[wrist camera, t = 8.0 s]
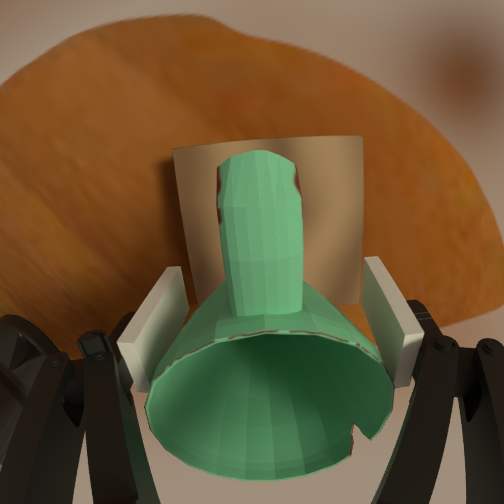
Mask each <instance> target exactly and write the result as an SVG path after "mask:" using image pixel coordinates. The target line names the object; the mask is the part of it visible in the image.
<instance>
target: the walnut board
mask: <svg viewBox="0 0 504 504" xmlns="http://www.w3.org/2000/svg"><path fill="white" fill-rule="evenodd" d="M253 150H267V151H270V152H272V153H275V154H278V155H280V156H282V157H284V158H286V159H288V160H289V161H291V162H293V163H294V164H295V165H296V167H297V172H298V178H299V184H300V190H301V196H302V213H303V248H304V250H303V281H304V282H306V283H307V284H308V285H310V286H311V287H313V288H314V289H315V290H317V291H318V292H319V293H320V294H321V295H323V296H324V297H325V298H326V299H328V300H329V301H330V302H331V303H332V304H333V305H334V306H338V305H352V304H359V294H360V281H361V266H362V246H363V214H364V167H363V136H305V137H285V138H269V139H255V140H243V141H233V142H223V143H214V144H205V145H197V146H189V147H182V148H175V149H172V151H173V159H174V166H175V174H176V181H177V188H178V195H179V201H180V208H181V214H182V221H183V227H184V233H185V239H186V245H187V251H188V256H189V262H190V267H191V273H192V278H193V284H194V289H195V294H196V299H197V304H198V308H199V307H200V306H201V305H202V304H203V303H204V302H205V300H206V299H207V298H208V297H209V296H210V295H211V294H212V293H213V292H214V291H215V290H216V289H217V288H218V287H219V286H220V285H221V284H222V283H223V282H225V281H226V277H225V270H224V264H223V257H222V250H221V242H220V233H219V225H218V216H217V208H216V189H217V167H218V166H219V165H220V164H221V163H223V162H224V161H225V160H227V159H228V158H229V157H231V156H234V155H238V154H242V153H246V152H249V151H253Z"/></svg>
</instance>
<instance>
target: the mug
mask: <svg viewBox="0 0 504 504" xmlns="http://www.w3.org/2000/svg"><path fill="white" fill-rule="evenodd" d="M216 208H217V216H218V225H219V233H220V242H221V250H222V257H223V264H224V270H225V277H226V281H225V282H223V283H222V284H221V285H220V286H219V287H218V288H217V289H216V290H215V291H214V292H213V293H212V294H211V295H210V296H209V297H208V298H207V299H206V300H205V302H204V303H203V304H202V305H201V306H200V307H199V308H198V309H197V310H196V311H195V313H194V314H193V315H192V317H191V318H190V319H189V321H188V322H187V324H186V325H185V326H184V328H183V329H182V330H181V332H180V333H179V335H178V336H177V338H176V339H175V341H174V342H173V343H172V345H171V346H170V348H169V349H168V351H167V352H166V354H165V355H164V357H163V358H162V359H161V361H160V362H159V364H158V366H157V368H156V370H155V373H154V376H153V379H152V383H151V386H150V389H149V392H148V396H147V399H146V403H145V406H144V408H145V412H146V416H147V420H148V424H149V428H150V430H151V432H152V433H153V434H154V436H155V437H156V438H157V440H158V441H159V442H160V443H161V444H162V446H163V447H164V448H165V449H166V450H167V451H168V452H170V453H171V454H172V455H174V456H175V457H177V458H178V459H180V460H181V461H183V462H184V463H186V464H187V465H189V466H191V467H194V468H197V469H199V470H201V471H204V472H207V473H209V474H212V475H215V476H219V477H224V478H230V479H236V480H241V481H280V480H287V479H293V478H298V477H304V476H307V475H311V474H314V473H317V472H320V471H322V470H325V469H328V468H331V467H333V466H336V465H337V464H339V463H341V462H342V461H344V460H346V459H347V458H349V457H350V456H351V453H352V448H353V443H354V441H353V436H352V433H353V428H354V424H355V425H356V426H357V427H359V429H360V430H361V432H362V433H363V434H364V435H365V436H366V437H367V438H368V439H370V440H372V439H373V438H374V437H376V436H377V434H379V433H380V431H381V429H382V428H383V426H384V424H385V422H386V420H387V419H388V417H389V415H390V413H391V412H392V409H393V400H394V390H395V386H394V383H393V381H392V379H391V377H390V374H389V372H388V370H387V368H386V366H385V364H384V362H383V360H382V358H381V356H380V354H379V352H378V350H377V349H376V348H375V346H374V345H373V344H372V343H371V342H370V341H369V340H368V339H367V338H366V337H365V336H364V335H363V334H362V333H361V332H360V331H359V330H358V329H357V328H356V327H355V326H354V325H353V324H352V323H351V321H350V320H349V319H348V318H347V317H345V316H344V315H343V314H342V313H341V312H340V311H339V310H338V309H337V308H336V307H335V306H334V305H333V304H332V303H331V302H330V301H329V300H328V299H326V298H325V297H324V296H323V295H321V294H320V293H319V292H318V291H317V290H315V289H314V288H313V287H311V286H310V285H308V284H307V283H306V282H304V281H303V250H304V248H303V213H302V196H301V190H300V184H299V178H298V172H297V167H296V165H295V164H294V163H293V162H291V161H289V160H288V159H286V158H284V157H282V156H280V155H278V154H275V153H272V152H270V151H267V150H253V151H249V152H246V153H242V154H238V155H234V156H231V157H229V158H228V159H227V160H225V161H224V162H223V163H221V164H220V165H219V166H218V167H217V189H216Z"/></svg>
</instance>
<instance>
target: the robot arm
mask: <svg viewBox="0 0 504 504" xmlns="http://www.w3.org/2000/svg"><path fill="white" fill-rule="evenodd" d="M361 304H362V307H363V309H364V312H365V314H366V317H367V320H368V322H369V325H370V328H371V330H372V333H373V336H374V338H375V341H376V344H377V347H378V350H379V352H380V355H381V358H382V360H383V362H384V364H385V366H386V368H387V370H388V372H389V374H390V377H391V379H392V381H393V383H394V386H395V388H400V387H406V386H409V385H410V382H411V379H412V376H413V378H414V381H415V386H414V389H413V392H412V395H411V398H410V401H409V402H410V403H409V406H408V410H407V413H406V416H405V419H404V422H403V425H402V428H401V431H400V434H399V437H398V440H397V442H396V445H395V448H394V450H393V453H392V456H391V458H390V461H389V463H388V466H387V468H386V471H385V473H384V476H383V478H382V480H381V483H380V485H379V488H378V490H377V492H376V494H375V496H374V498H373V500H372V502H371V504H429V501H430V499H431V495H432V492H433V489H434V486H435V482H436V479H437V475H438V471H439V468H440V464H441V460H442V456H443V452H444V448H445V443H446V439H447V433H448V428H449V424H450V418H451V412H452V406H453V400H454V397H458V402H459V409H460V416H461V424H462V433H463V442H464V455H465V470H466V504H504V346H503V345H502V344H501V343H500V342H499V341H497V340H495V339H491V338H485V339H482V340H480V341H479V342H478V344H477V346H476V348H464V347H459V345H458V343H457V342H456V340H454V339H453V338H451V337H449V336H445V335H443V334H442V333H441V331H440V329H439V328H438V326H437V325H436V323H435V321H434V320H433V319H432V317H431V315H430V314H429V313H428V311H427V309H426V307H425V306H424V305H423V304H422V303H420V302H419V301H417V300H405V299H404V297H403V295H402V294H401V292H400V290H399V289H398V287H397V286H396V284H395V282H394V281H393V279H392V278H391V276H390V274H389V273H388V271H387V270H386V268H385V267H384V265H383V263H382V262H381V260H380V259H379V257H378V256H377V257H364V269H363V283H362V295H361ZM189 310H190V309H189V305H188V300H187V295H186V291H185V286H184V281H183V276H182V271H181V266H175V267H167V268H166V270H165V271H164V272H163V274H162V275H161V277H160V278H159V280H158V281H157V283H156V284H155V285H154V287H153V288H152V290H151V291H150V293H149V294H148V296H147V297H146V299H145V300H144V302H143V303H142V304H141V306H140V307H139V309H138V310H137V312H129V313H128V314H127V315H125V316H124V317H123V318H122V319H121V320H120V322H119V323H118V325H117V326H116V328H115V329H114V331H113V332H112V333H111V335H110V336H109V338H108V337H107V335H106V332H104V331H103V330H91V331H88V332H86V333H84V334H83V335H81V336H80V337H79V339H78V341H77V344H78V347H79V349H80V351H81V353H82V355H83V357H84V359H79V360H70V358H69V356H68V354H67V353H65V352H59V351H58V349H57V348H56V347H55V346H54V344H53V343H52V342H51V341H50V340H49V339H48V338H47V337H46V336H45V335H44V334H43V333H42V332H41V331H40V330H39V329H38V328H36V327H35V326H34V325H33V324H31V323H30V322H28V321H26V320H25V319H23V318H21V317H18V316H15V315H5V316H3V317H1V318H0V504H72V501H73V494H74V487H75V481H76V475H77V469H78V464H79V458H80V453H81V448H82V443H83V438H84V433H85V432H86V444H87V456H88V466H89V474H90V481H91V489H92V496H93V504H161V503H160V500H159V498H158V494H157V491H156V488H155V485H154V481H153V478H152V474H151V471H150V467H149V463H148V460H147V456H146V452H145V448H144V444H143V440H142V436H141V432H140V428H139V423H138V419H137V415H136V409H135V405H134V400H133V395H132V393H131V391H130V388H131V386H132V384H133V383H134V385H135V387H136V390H137V392H144V393H148V392H149V389H150V386H151V383H152V379H153V376H154V373H155V370H156V368H157V366H158V364H159V362H160V361H161V359H162V358H163V357H164V355H165V354H166V352H167V351H168V349H169V348H170V346H171V345H172V343H173V342H174V341H175V339H176V338H177V336H178V335H179V332H180V330H181V328H182V325H183V323H184V321H185V319H186V316H187V314H188V312H189Z"/></svg>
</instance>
